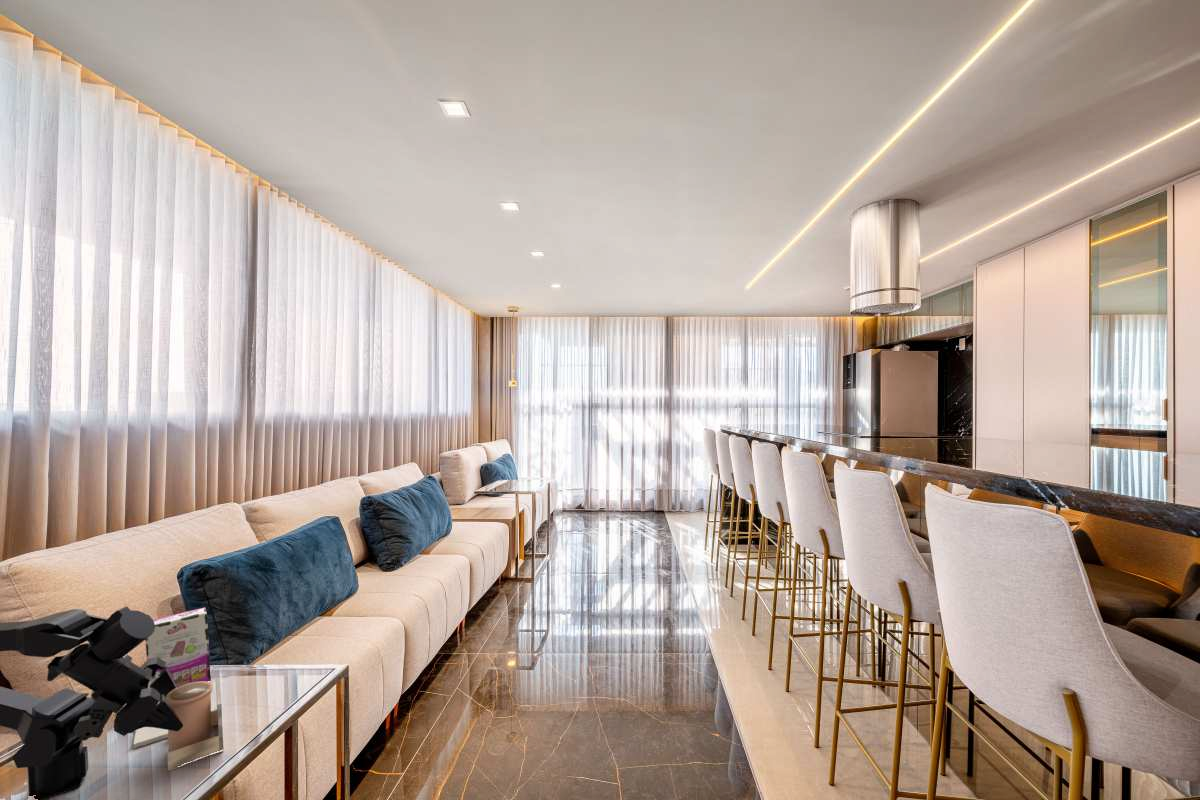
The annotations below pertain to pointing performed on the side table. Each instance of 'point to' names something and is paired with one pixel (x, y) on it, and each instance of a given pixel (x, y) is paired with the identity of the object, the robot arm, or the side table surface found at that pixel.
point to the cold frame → (202, 747)
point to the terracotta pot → (191, 714)
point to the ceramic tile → (149, 736)
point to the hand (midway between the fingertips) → (181, 716)
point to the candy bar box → (182, 646)
